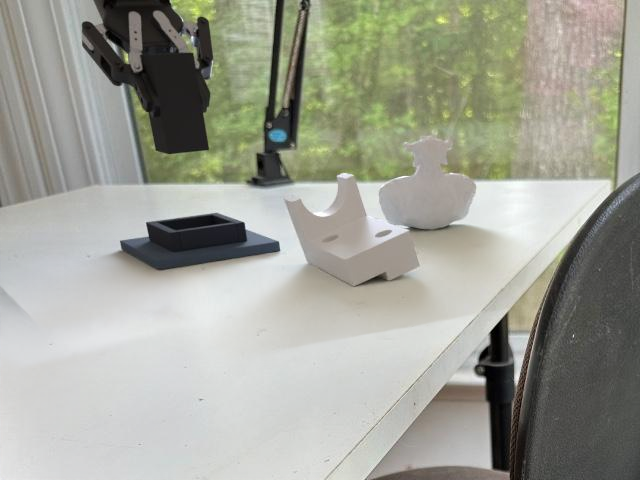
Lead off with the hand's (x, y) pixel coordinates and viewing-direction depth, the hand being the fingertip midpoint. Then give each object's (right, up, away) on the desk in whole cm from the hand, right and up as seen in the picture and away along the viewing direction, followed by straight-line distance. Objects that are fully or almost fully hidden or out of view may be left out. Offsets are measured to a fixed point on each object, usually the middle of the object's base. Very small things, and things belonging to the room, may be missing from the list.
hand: (180, 108), depth 94 cm
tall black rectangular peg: (-1, -3, +4) cm, 4 cm away
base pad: (-1, -11, +9) cm, 14 cm away
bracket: (+18, -18, -2) cm, 26 cm away
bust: (+26, -6, +16) cm, 31 cm away
